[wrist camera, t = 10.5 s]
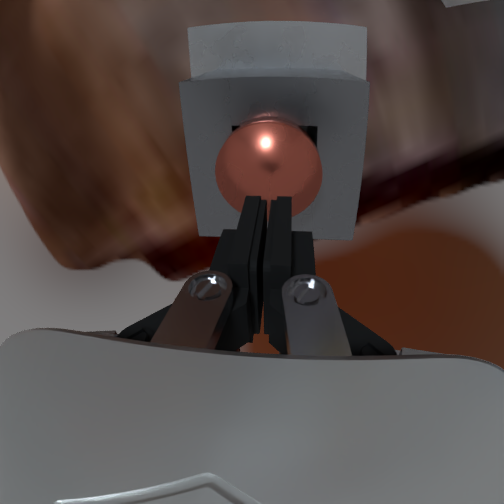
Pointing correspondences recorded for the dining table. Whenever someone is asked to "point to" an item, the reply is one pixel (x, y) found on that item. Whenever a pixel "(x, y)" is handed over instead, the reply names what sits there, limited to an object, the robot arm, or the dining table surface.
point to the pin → (269, 164)
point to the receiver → (279, 110)
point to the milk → (458, 2)
